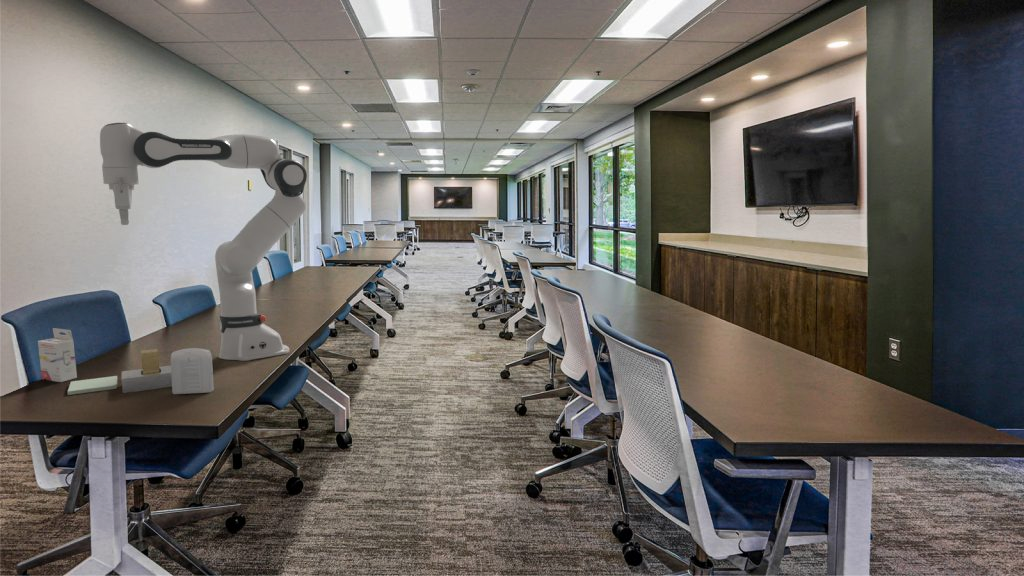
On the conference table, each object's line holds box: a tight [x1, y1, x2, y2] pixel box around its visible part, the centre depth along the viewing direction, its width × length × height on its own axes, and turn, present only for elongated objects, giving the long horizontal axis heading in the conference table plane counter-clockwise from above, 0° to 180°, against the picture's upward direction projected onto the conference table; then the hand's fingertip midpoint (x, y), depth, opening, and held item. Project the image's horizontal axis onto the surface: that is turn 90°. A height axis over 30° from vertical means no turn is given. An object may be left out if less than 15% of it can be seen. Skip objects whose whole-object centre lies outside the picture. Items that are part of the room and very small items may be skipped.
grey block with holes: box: [120, 364, 172, 394], centre depth 169 cm, size 18×9×4 cm, turn 122°
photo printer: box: [170, 347, 215, 395], centre depth 161 cm, size 10×4×12 cm, turn 103°
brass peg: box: [140, 348, 160, 374], centre depth 168 cm, size 4×4×10 cm
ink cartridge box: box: [37, 327, 78, 383], centre depth 174 cm, size 9×5×15 cm, turn 71°
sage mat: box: [67, 375, 118, 396], centre depth 167 cm, size 11×11×1 cm
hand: (125, 224), depth 179 cm, fingers open, 8 cm apart
